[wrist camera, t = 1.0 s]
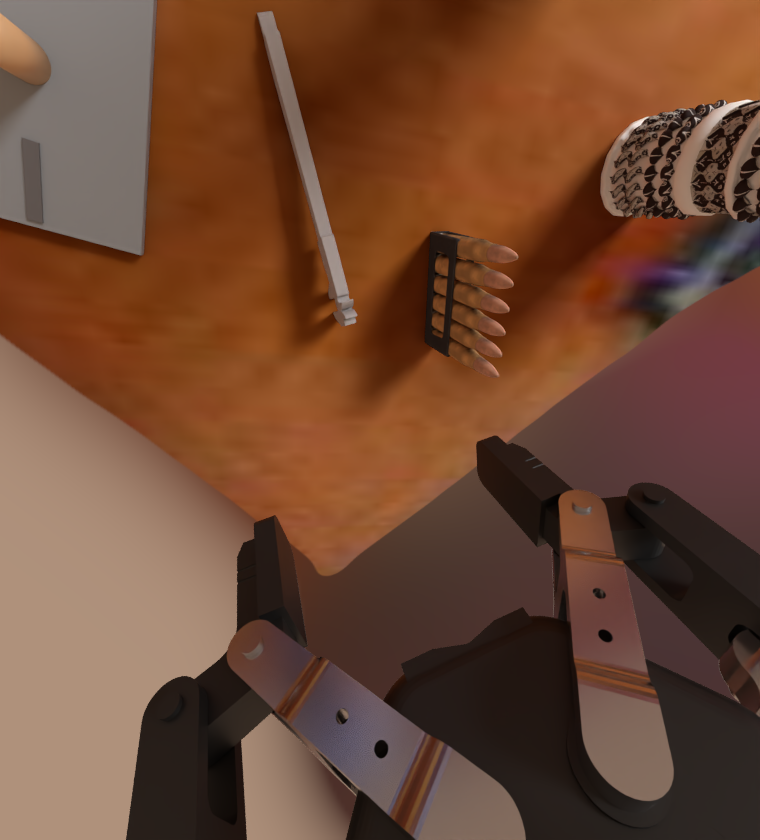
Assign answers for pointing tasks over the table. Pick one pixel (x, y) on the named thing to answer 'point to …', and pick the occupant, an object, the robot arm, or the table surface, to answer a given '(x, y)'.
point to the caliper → (306, 169)
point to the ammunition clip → (465, 298)
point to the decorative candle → (687, 164)
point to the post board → (77, 117)
